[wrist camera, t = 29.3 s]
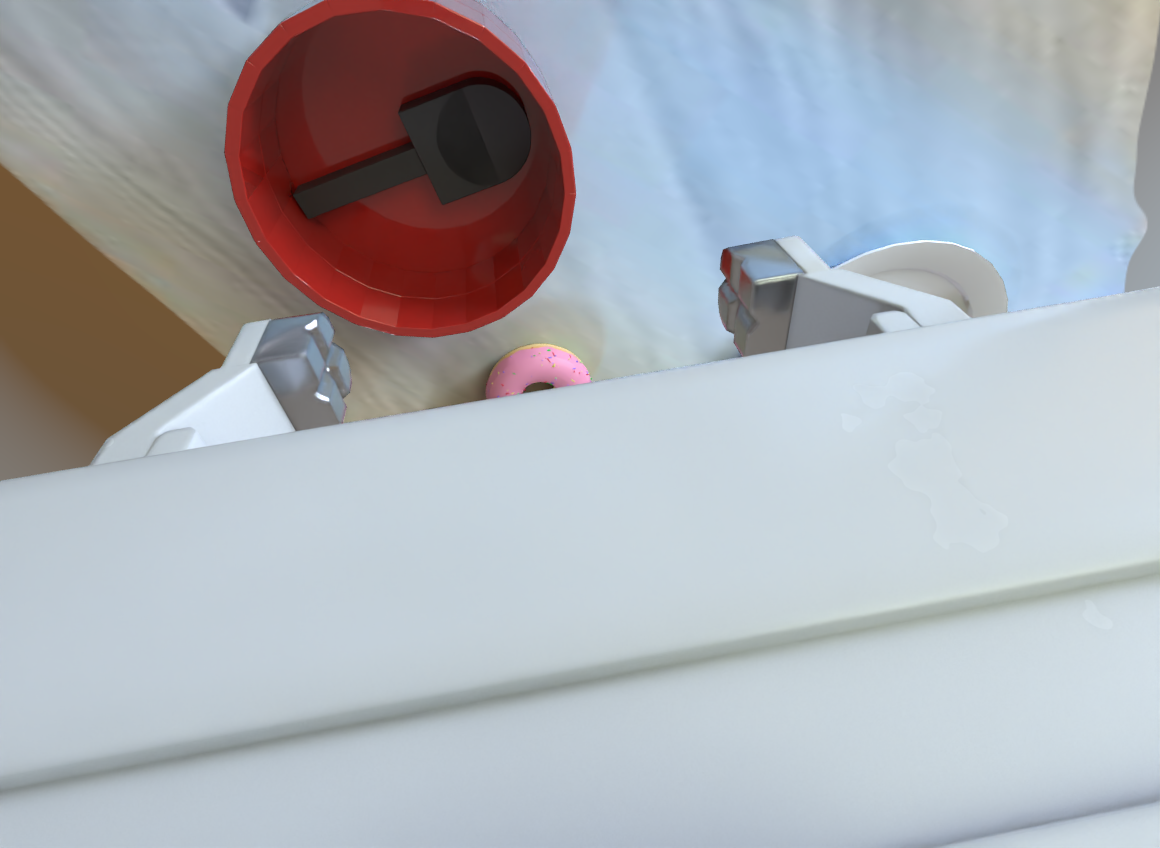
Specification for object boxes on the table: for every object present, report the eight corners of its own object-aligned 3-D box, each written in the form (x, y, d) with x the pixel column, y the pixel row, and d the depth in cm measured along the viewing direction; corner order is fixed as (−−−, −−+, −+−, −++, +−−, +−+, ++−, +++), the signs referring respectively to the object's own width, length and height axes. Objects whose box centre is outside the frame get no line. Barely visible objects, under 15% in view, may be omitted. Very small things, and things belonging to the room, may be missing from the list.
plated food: (678, 399, 67) (686, 419, 65) (899, 172, 53) (921, 185, 50) (835, 482, 82) (847, 501, 79) (1043, 320, 67) (1065, 337, 65)
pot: (252, 226, 48) (214, 286, 41) (287, -96, 36) (241, -94, 29) (504, 305, 56) (510, 367, 49) (602, 63, 44) (630, 97, 37)
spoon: (331, 237, 49) (326, 249, 47) (277, 153, 44) (270, 163, 43) (541, 158, 47) (544, 167, 45) (508, 61, 42) (510, 68, 41)
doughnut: (464, 365, 60) (464, 391, 57) (560, 317, 58) (565, 341, 55) (518, 432, 67) (520, 458, 64) (605, 391, 65) (612, 416, 62)
